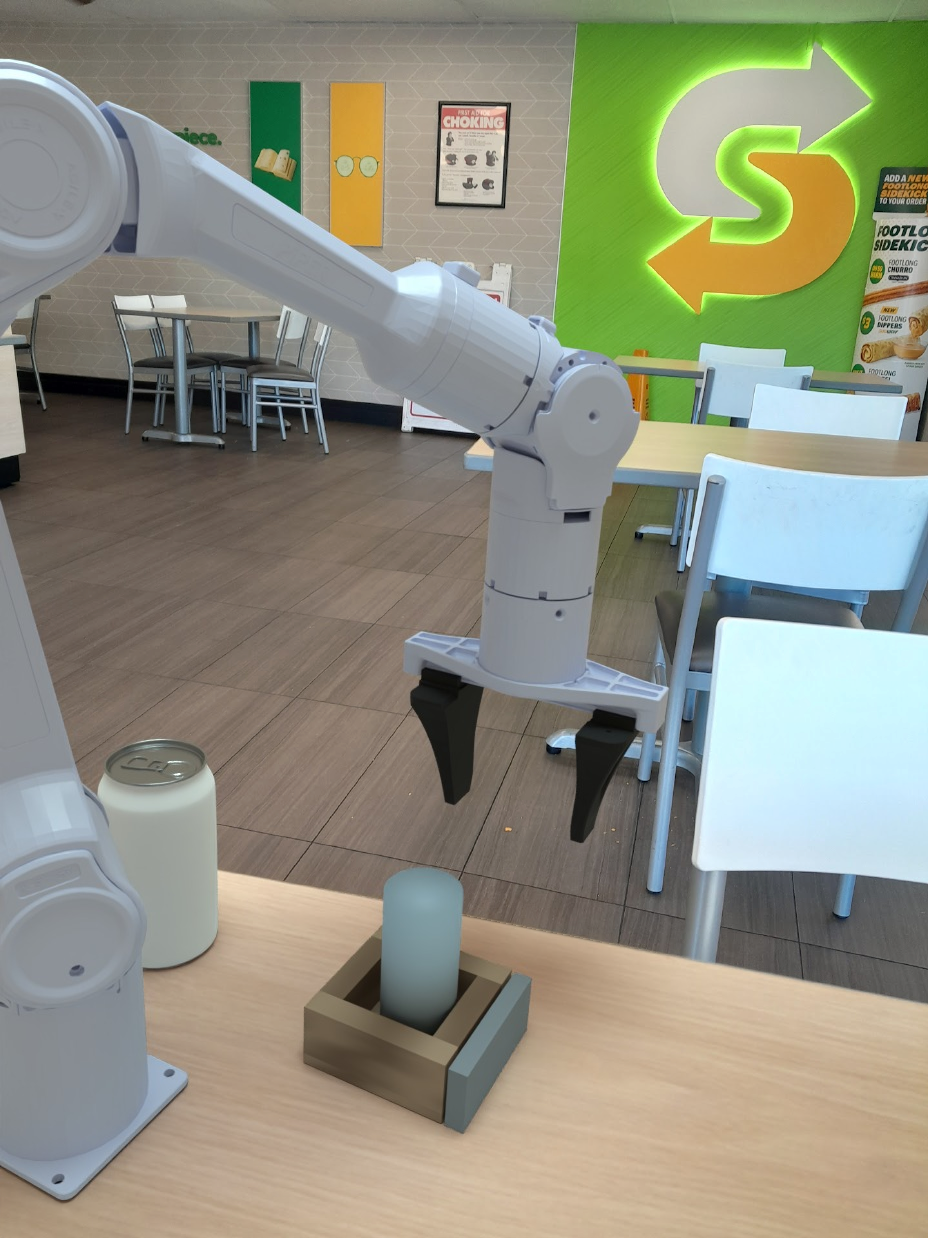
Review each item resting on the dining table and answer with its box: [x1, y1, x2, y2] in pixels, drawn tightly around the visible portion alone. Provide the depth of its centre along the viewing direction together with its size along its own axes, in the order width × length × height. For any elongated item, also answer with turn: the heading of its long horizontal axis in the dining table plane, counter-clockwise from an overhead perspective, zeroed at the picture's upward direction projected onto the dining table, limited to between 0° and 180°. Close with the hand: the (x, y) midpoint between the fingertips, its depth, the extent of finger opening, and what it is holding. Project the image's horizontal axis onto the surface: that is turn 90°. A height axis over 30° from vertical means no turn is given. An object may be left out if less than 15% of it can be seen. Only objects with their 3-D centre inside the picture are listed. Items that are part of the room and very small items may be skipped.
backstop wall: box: [443, 971, 533, 1135], centre depth 51 cm, size 1×8×4 cm, turn 154°
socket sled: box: [302, 924, 513, 1124], centre depth 52 cm, size 8×8×4 cm
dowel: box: [380, 866, 464, 1036], centre depth 51 cm, size 4×4×9 cm
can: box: [97, 738, 219, 970], centre depth 58 cm, size 6×6×12 cm
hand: (517, 814), depth 56 cm, fingers open, 7 cm apart
